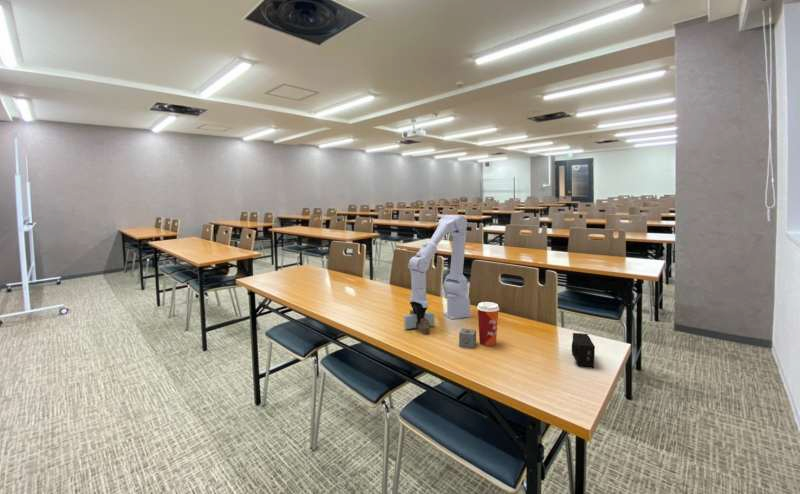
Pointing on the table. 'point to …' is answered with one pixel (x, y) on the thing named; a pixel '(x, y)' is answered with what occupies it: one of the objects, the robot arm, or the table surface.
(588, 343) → the digital camera
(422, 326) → the walnut u-shaped block
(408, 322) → the pale blue-gray block
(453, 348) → the table surface
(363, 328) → the table surface
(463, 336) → the gray cube with hole
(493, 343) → the paper cup
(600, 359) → the table surface
